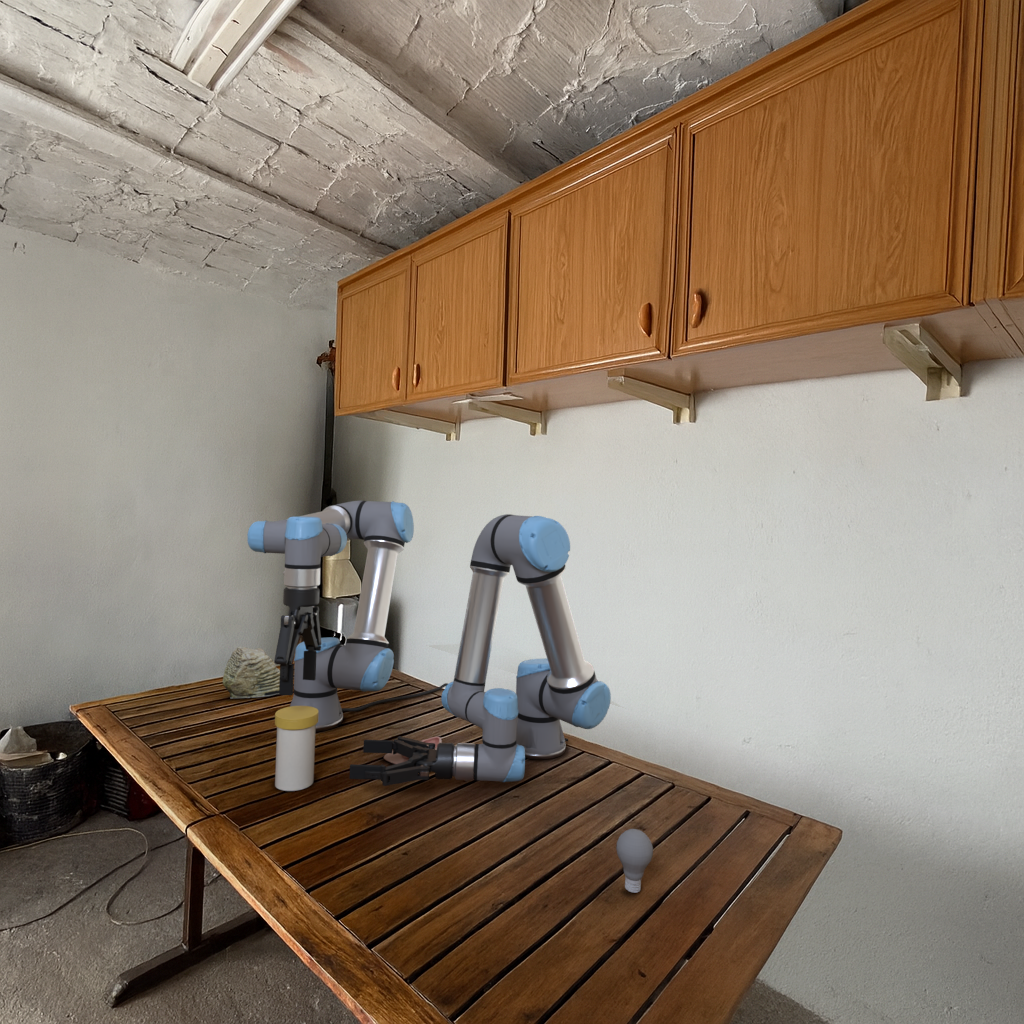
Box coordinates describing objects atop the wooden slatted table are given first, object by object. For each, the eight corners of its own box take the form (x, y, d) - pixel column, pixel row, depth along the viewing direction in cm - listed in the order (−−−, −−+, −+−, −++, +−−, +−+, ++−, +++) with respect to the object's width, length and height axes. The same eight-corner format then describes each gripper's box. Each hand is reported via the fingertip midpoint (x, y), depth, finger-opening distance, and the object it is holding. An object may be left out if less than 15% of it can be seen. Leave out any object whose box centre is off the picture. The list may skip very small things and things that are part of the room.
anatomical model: (378, 746, 151) (397, 729, 163) (378, 762, 151) (396, 745, 163) (431, 753, 149) (446, 735, 160) (431, 770, 149) (445, 751, 160)
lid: (302, 712, 146) (303, 702, 146) (326, 722, 140) (326, 712, 140) (266, 722, 139) (266, 712, 139) (290, 733, 133) (290, 722, 133)
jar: (299, 771, 145) (302, 705, 145) (321, 782, 140) (323, 714, 140) (267, 782, 139) (269, 714, 139) (288, 794, 134) (291, 723, 134)
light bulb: (610, 879, 108) (613, 822, 108) (644, 879, 109) (647, 822, 109) (619, 902, 102) (622, 840, 102) (655, 901, 103) (658, 840, 103)
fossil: (218, 695, 195) (220, 647, 195) (278, 685, 208) (279, 640, 207) (228, 703, 189) (230, 653, 188) (289, 692, 201) (290, 645, 201)
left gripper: (308, 579, 151) (304, 671, 151) (258, 593, 128) (254, 701, 128) (338, 581, 150) (335, 673, 150) (294, 595, 127) (289, 704, 127)
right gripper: (449, 805, 126) (342, 802, 126) (457, 755, 151) (368, 752, 151) (451, 768, 126) (344, 765, 126) (458, 724, 151) (369, 721, 151)
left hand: (298, 686), depth 139 cm, fingers open, 11 cm apart
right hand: (357, 758), depth 138 cm, fingers open, 13 cm apart
